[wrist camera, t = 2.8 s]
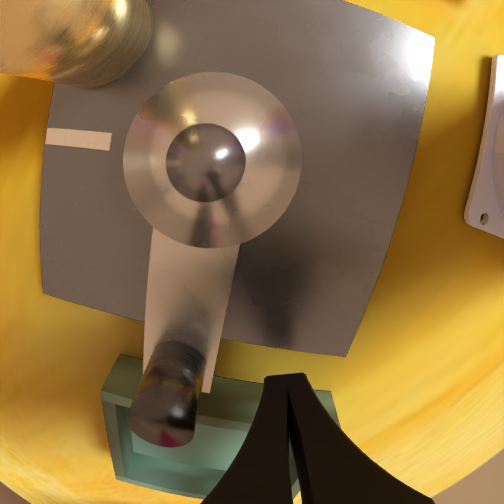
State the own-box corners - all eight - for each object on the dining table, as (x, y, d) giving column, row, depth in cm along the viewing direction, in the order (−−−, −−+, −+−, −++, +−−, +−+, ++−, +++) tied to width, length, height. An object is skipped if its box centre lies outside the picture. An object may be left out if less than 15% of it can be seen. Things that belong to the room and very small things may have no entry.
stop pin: (166, -13, 8) (114, -90, 3) (137, 91, 9) (53, 64, 4) (70, -7, 8) (-7, -52, 3) (43, 88, 9) (-54, 79, 4)
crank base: (422, 43, 9) (436, 37, 8) (340, 343, 13) (346, 358, 12) (97, -14, 8) (85, -24, 7) (54, 283, 13) (41, 294, 12)
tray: (330, 391, 14) (341, 430, 12) (284, 474, 17) (287, 506, 15) (119, 354, 14) (100, 390, 11) (126, 448, 16) (116, 479, 14)
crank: (153, 70, 9) (94, 35, 5) (311, 98, 9) (351, 71, 5) (122, 354, 12) (85, 427, 8) (241, 379, 12) (238, 463, 9)
